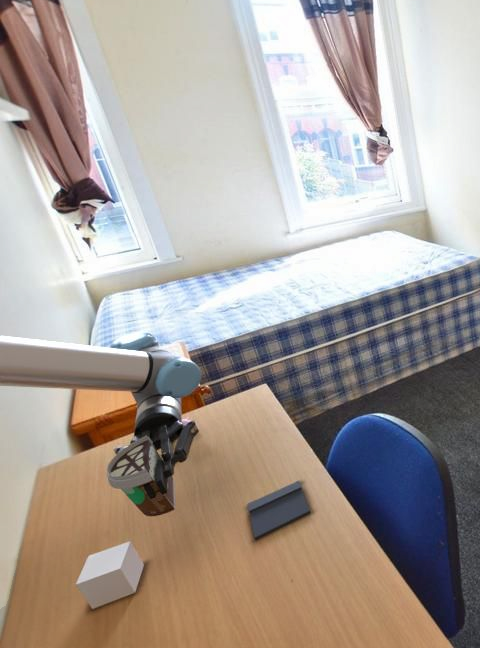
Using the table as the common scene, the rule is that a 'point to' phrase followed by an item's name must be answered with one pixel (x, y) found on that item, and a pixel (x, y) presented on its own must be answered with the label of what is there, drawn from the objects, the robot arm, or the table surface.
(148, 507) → the food container
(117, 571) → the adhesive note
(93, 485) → the table surface
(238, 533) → the table surface
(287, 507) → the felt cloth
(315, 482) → the table surface
